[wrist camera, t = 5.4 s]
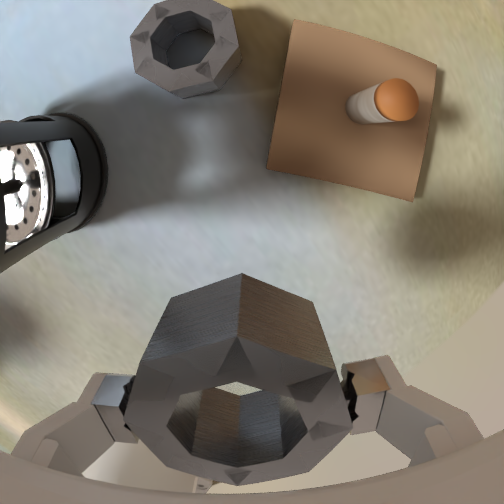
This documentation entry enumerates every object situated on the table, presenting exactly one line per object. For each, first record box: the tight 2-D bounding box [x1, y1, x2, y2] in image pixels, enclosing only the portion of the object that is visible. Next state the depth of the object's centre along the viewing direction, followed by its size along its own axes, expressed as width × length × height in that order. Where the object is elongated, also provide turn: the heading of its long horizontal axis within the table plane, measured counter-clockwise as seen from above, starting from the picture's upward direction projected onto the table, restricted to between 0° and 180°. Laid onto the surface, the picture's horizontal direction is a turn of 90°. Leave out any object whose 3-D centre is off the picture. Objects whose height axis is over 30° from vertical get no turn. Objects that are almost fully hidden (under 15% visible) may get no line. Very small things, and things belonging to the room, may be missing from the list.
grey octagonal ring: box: [130, 0, 242, 98], centre depth 16 cm, size 6×6×4 cm
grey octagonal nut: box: [123, 273, 353, 486], centre depth 9 cm, size 6×6×4 cm
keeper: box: [266, 19, 437, 202], centre depth 15 cm, size 10×10×8 cm
